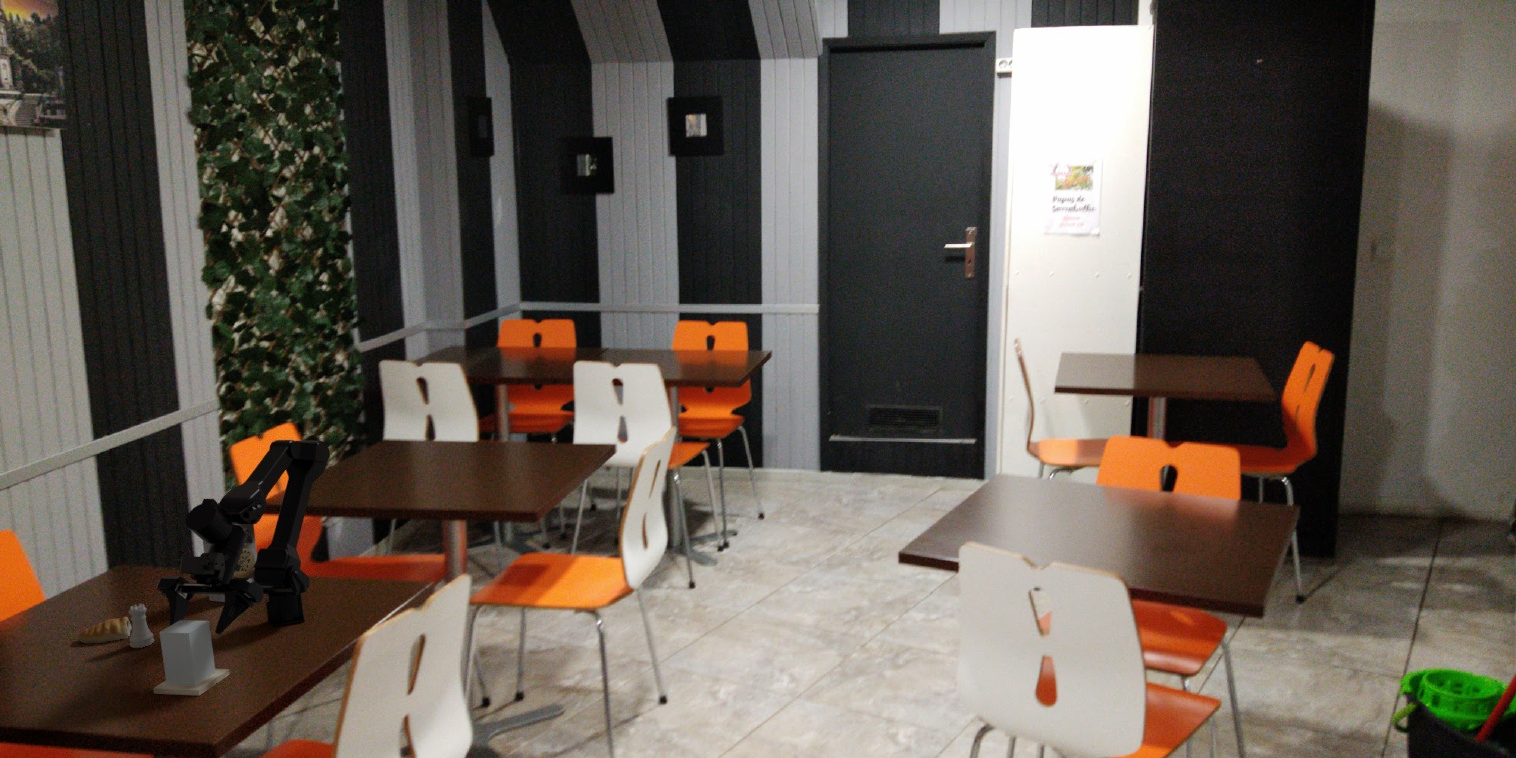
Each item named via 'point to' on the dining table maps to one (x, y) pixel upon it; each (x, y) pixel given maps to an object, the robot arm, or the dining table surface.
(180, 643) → the grey tall rectangular block
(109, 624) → the pastry
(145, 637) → the rook chess piece
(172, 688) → the post board
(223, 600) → the coffee box
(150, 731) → the dining table surface
